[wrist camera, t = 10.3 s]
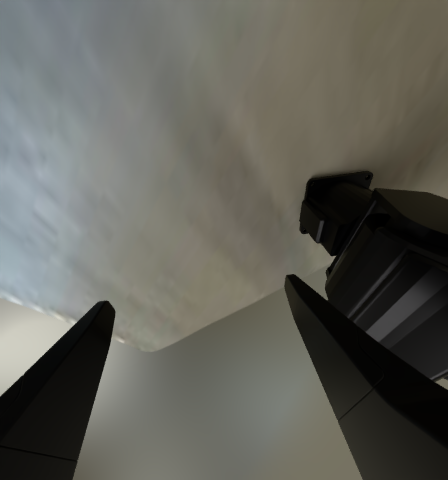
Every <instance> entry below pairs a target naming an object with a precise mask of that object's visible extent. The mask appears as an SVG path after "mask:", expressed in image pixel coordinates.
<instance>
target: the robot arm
mask: <svg viewBox="0 0 448 480" xmlns="http://www.w3.org/2000/svg"><path fill="white" fill-rule="evenodd" d="M367 175H368V176H367ZM366 176H367V177H366ZM365 177H366V178H365ZM372 178H373V173H371V172H369V171H364V172H357V173H349V174H342V175H335V176H327V177H320V178H313V179H310V180H309V181H308V182H307V185H306V191H305V198H304V200H303V202H302V207H301V213H300V220H299V221H300V229H299V230H300V232H301V233H302V234H308V233H309V234H310V236H311V237H312V238H313V240H314V241H315V242H316V243H321V244H322V246H323V247H324V248H325V249H326V251H327V252H328V253H329V254H330V255H331V256H336V255H337V256H336V257H335V259H334V261H333V262H332V264H331V266H330V267H328V268H327V270H326V276H327V280H326V284H325V291H326V294H327V297H328V300H325V299H324V298H323V297H322V296H321V295H319V294H318V293H317V292H316V291H314V290H313V289H312V288H311V287H310V286H308V285H307V284H306V283H305V282H303V281H302V280H301V279H300V278H299V277H297V276H296V275H295V274H290V275H286V278H285V285H284V287H285V291H286V295H287V298H288V301H289V305H290V308H291V311H292V315H293V317H294V320H295V323H296V325H297V327H298V330H299V332H300V334H301V337H302V339H303V341H304V344H305V346H306V348H307V350H308V353H309V355H310V358H311V360H312V362H313V365H314V367H315V369H316V372H317V374H318V376H319V379H320V381H321V383H322V386H323V387H324V390H325V392H326V394H327V397H328V399H329V402H330V404H331V406H332V408H333V411H334V413H335V416H336V418H337V420H338V423H339V425H340V427H341V430H342V432H343V435H344V437H345V439H346V441H347V444H348V446H349V449H350V451H351V453H352V455H353V458H354V460H355V463H356V465H357V467H358V469H359V472H360V474H361V476H362V479H363V480H448V390H447V389H445V388H444V387H442V386H440V385H439V384H437V383H435V382H436V381H438V380H440V379H442V378H444V379H446V380H448V199H446V198H443V197H440V196H437V195H434V194H431V193H428V192H418V191H406V190H394V189H382V188H375V189H374V191H371V190H370V189H369V186H370V183H371V180H372ZM313 182H314V184H313V185H312V186H311V184H312V183H313ZM304 229H305V230H304ZM114 320H115V309H114V308H113V306H112V305H111V304H110V302H109V301H100V302H98V303H96V304H95V305H94V306H93V307H92V308H91V309H90V310H89V311H88V312H87V313H86V314H85V315H84V316H83V317H82V318H81V319H80V320H79V321H78V322H77V323H76V324H75V325H74V326H73V327H72V328H71V329H70V330H69V331H68V332H67V333H66V334H64V335H63V336H62V337H61V338H60V339H59V340H58V341H57V342H56V343H55V344H54V345H53V346H52V347H51V348H50V349H49V350H48V351H47V352H46V353H45V354H44V355H43V356H42V357H41V358H40V359H39V360H38V361H37V362H36V363H35V364H34V365H33V366H31V367H30V369H28V370H27V371H26V372H25V374H24V375H23V376H21V377H20V378H19V379H18V380H17V381H16V382H15V383H14V384H13V385H12V386H11V387H10V388H9V389H8V390H7V391H6V392H4V393H3V394H2V395H1V396H0V480H72V479H73V476H74V472H75V468H76V465H77V460H78V458H79V454H80V450H81V447H82V443H83V440H84V436H85V433H86V429H87V425H88V422H89V418H90V415H91V411H92V408H93V404H94V401H95V397H96V393H97V390H98V386H99V383H100V379H101V376H102V372H103V368H104V365H105V361H106V358H107V354H108V350H109V347H110V342H111V337H112V331H113V326H114Z"/></svg>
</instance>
